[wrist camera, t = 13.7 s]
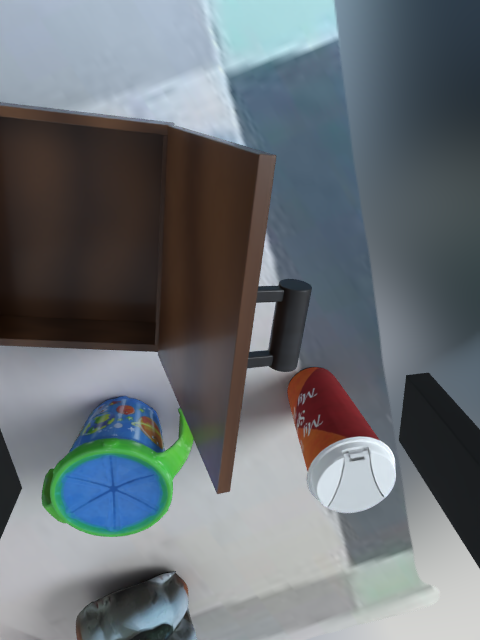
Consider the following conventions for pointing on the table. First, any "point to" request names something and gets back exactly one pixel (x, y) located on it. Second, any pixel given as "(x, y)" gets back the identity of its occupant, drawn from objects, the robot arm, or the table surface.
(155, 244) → the chest
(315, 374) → the paper cup
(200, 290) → the lid
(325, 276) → the table surface
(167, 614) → the lucky cat figurine
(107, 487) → the snack cup
